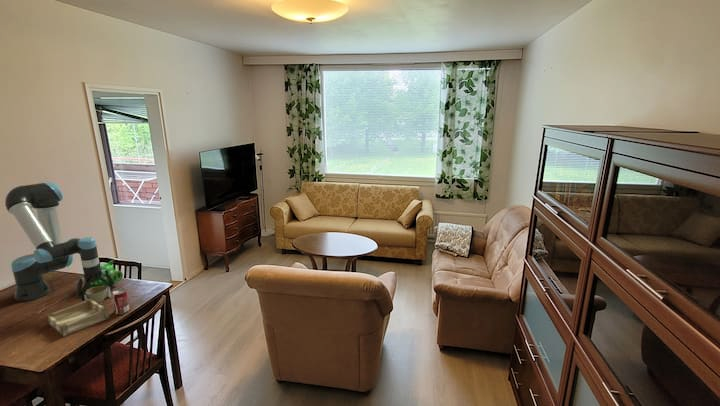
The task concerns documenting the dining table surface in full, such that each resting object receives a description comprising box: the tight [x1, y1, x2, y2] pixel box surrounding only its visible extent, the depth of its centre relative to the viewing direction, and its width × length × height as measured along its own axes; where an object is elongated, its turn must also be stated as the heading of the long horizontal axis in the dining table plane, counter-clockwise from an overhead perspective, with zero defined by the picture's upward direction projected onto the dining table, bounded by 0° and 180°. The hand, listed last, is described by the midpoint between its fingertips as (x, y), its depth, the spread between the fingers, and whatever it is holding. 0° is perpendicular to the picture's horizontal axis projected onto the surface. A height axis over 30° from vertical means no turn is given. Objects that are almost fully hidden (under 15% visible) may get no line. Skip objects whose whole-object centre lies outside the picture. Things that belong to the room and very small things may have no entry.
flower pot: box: [85, 286, 107, 304], centre depth 194 cm, size 10×10×7 cm
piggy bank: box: [84, 259, 124, 289], centre depth 210 cm, size 14×18×15 cm
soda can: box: [110, 288, 130, 315], centre depth 183 cm, size 7×7×12 cm
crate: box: [46, 298, 110, 338], centre depth 175 cm, size 19×19×5 cm
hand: (98, 301), depth 194 cm, fingers open, 11 cm apart
